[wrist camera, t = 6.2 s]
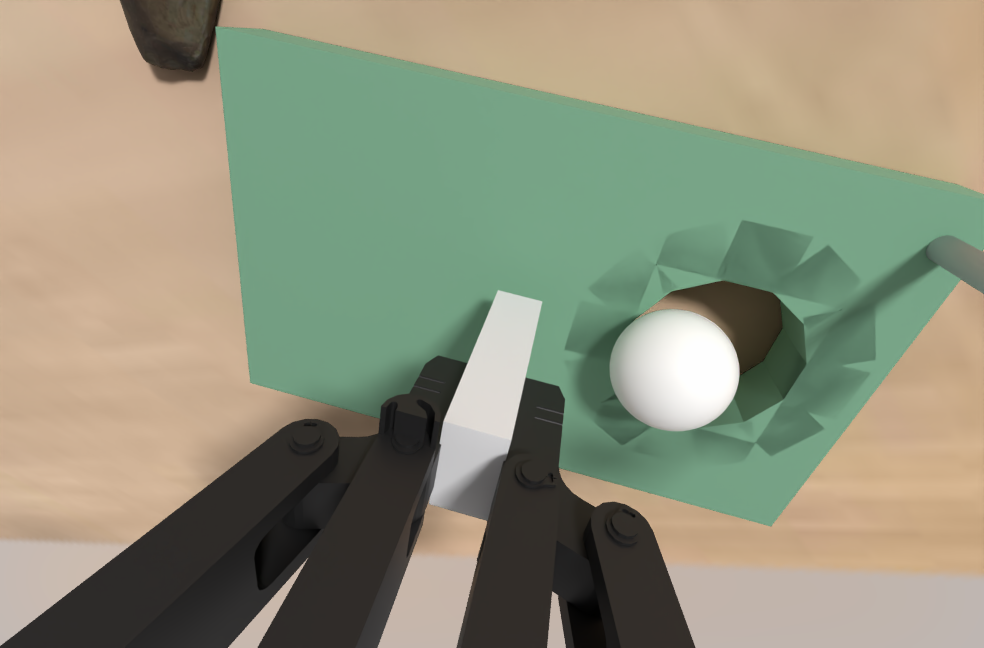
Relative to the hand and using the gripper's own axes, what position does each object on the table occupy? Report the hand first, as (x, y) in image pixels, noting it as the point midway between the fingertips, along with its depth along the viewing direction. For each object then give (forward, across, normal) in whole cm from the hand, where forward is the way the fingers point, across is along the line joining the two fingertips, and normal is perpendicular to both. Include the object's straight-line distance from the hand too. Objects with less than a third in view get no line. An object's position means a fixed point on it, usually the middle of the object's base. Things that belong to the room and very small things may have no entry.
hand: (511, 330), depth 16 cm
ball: (0, +5, 0) cm, 5 cm away
